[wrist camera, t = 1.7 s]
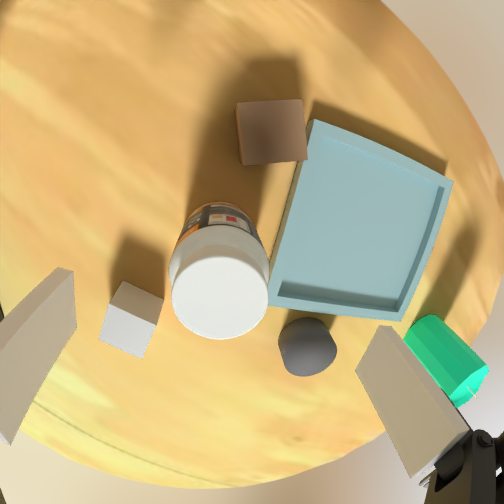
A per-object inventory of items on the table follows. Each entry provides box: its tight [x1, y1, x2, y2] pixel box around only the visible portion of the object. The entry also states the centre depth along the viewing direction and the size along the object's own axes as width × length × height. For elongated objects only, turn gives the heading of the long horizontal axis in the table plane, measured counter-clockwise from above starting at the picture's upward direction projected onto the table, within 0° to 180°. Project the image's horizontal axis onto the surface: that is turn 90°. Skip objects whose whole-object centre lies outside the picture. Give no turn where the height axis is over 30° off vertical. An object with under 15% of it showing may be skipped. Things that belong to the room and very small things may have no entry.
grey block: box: [99, 281, 164, 359], centre depth 22 cm, size 4×4×4 cm
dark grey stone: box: [278, 317, 337, 376], centre depth 26 cm, size 5×5×3 cm
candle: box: [403, 315, 489, 408], centre depth 24 cm, size 6×6×12 cm
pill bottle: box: [169, 202, 269, 339], centre depth 18 cm, size 6×6×10 cm
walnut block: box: [235, 99, 308, 166], centre depth 18 cm, size 4×4×4 cm
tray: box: [267, 119, 453, 321], centre depth 23 cm, size 15×15×2 cm
